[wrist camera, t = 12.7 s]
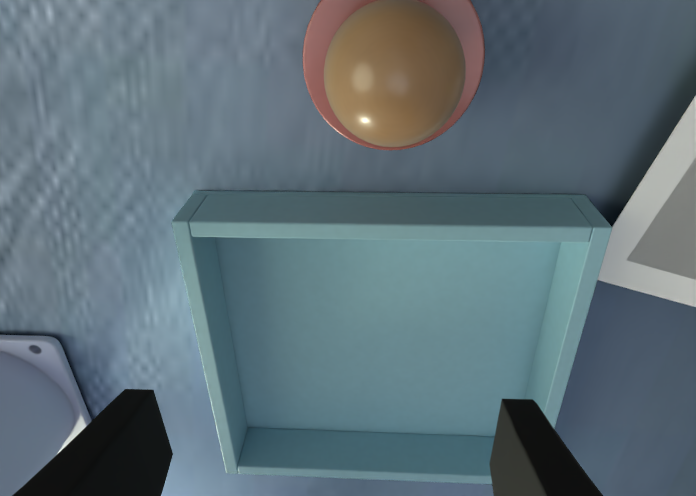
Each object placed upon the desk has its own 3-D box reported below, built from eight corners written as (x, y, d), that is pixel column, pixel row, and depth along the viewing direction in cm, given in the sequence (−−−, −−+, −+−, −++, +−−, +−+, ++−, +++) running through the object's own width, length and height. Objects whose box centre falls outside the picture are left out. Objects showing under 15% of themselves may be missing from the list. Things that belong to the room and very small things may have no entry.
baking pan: (239, 429, 25) (225, 474, 23) (194, 190, 19) (170, 221, 17) (524, 440, 25) (538, 487, 22) (585, 194, 18) (613, 227, 16)
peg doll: (327, 96, 17) (290, 195, 10) (322, -43, 15) (272, -37, 8) (448, 96, 16) (495, 197, 10) (461, -45, 14) (531, -41, 8)
